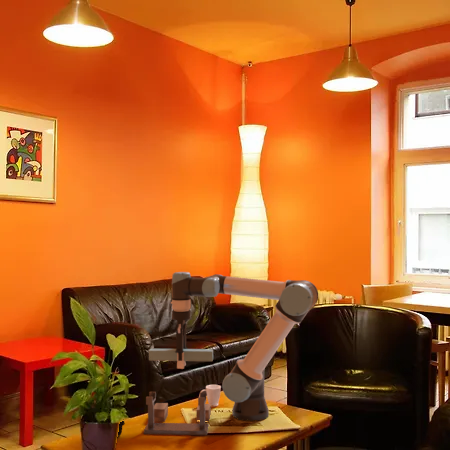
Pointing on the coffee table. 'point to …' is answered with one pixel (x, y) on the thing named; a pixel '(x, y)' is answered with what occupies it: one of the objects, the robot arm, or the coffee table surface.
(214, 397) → the cup
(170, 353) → the rail
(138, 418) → the coffee table surface
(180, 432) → the stand
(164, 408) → the rest blocks
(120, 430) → the controller
